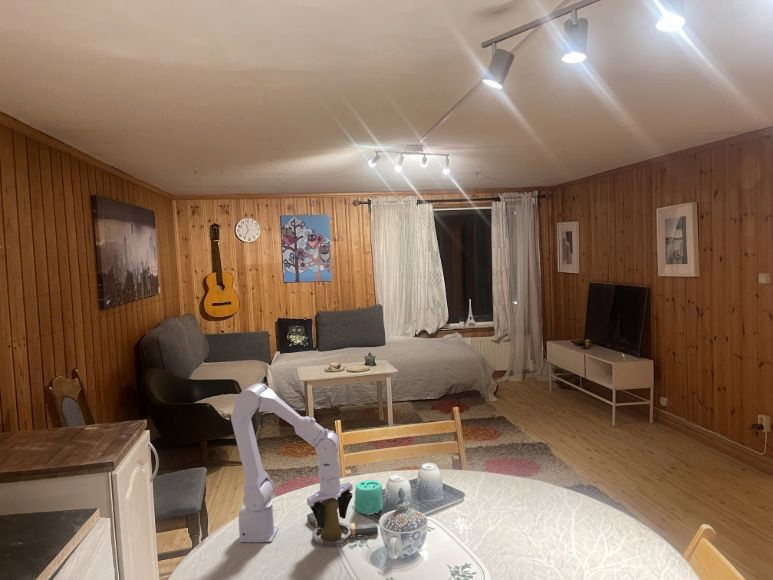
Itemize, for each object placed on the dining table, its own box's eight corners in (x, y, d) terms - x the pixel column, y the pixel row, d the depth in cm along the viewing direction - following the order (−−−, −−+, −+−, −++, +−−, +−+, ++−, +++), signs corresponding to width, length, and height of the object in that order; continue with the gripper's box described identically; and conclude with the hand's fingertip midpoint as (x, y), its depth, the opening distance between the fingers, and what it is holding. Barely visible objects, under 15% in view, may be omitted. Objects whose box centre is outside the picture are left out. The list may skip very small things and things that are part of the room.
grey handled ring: (296, 547, 156) (296, 538, 156) (308, 519, 172) (308, 511, 172) (376, 546, 155) (375, 537, 154) (380, 518, 171) (380, 510, 170)
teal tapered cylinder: (358, 504, 181) (356, 479, 181) (382, 503, 181) (381, 479, 180) (355, 515, 173) (354, 490, 173) (381, 515, 173) (380, 489, 173)
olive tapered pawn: (319, 542, 158) (317, 504, 158) (321, 531, 164) (319, 495, 164) (341, 541, 158) (339, 503, 158) (342, 530, 164) (340, 494, 164)
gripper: (316, 487, 152) (318, 536, 153) (358, 472, 161) (360, 517, 162) (301, 480, 157) (304, 527, 158) (343, 465, 167) (345, 510, 168)
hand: (331, 522), depth 161 cm, fingers open, 7 cm apart
